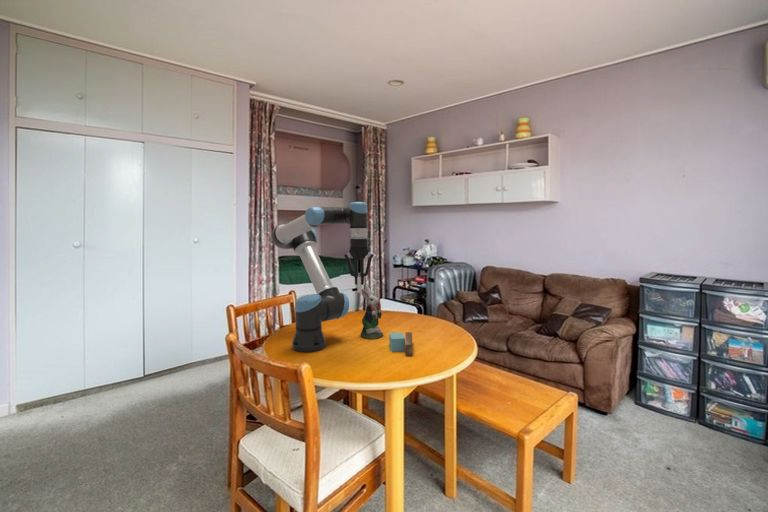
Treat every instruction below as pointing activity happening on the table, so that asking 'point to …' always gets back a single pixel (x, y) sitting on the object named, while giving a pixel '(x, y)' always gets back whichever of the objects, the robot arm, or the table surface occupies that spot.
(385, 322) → the table surface
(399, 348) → the block
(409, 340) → the board
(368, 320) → the figurine
